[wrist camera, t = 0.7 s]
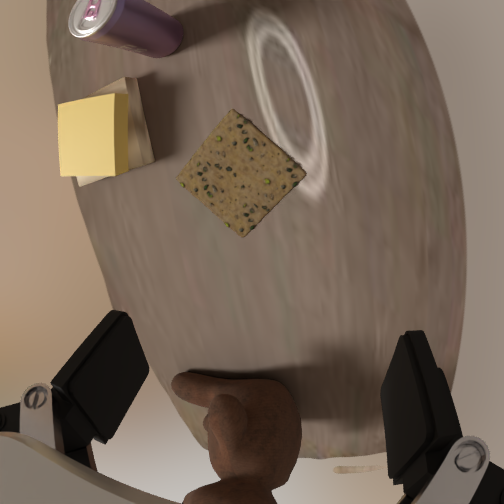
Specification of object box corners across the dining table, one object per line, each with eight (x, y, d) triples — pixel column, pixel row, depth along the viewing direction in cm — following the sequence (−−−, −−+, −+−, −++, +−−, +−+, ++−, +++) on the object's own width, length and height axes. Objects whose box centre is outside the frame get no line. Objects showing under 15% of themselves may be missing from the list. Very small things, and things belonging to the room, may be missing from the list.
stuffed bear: (160, 346, 51) (67, 502, 20) (276, 331, 44) (216, 566, 13) (222, 429, 61) (179, 552, 30) (316, 426, 54) (294, 573, 23)
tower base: (75, 109, 34) (61, 110, 31) (137, 78, 31) (124, 77, 28) (91, 181, 39) (79, 186, 36) (155, 161, 36) (143, 165, 33)
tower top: (72, 103, 31) (58, 104, 28) (128, 93, 29) (114, 93, 27) (74, 171, 35) (60, 176, 32) (128, 171, 34) (115, 176, 31)
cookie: (232, 106, 32) (230, 105, 31) (308, 173, 34) (308, 174, 33) (175, 177, 37) (172, 179, 36) (243, 238, 39) (242, 241, 38)
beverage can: (190, 19, 27) (126, -23, 13) (179, 60, 29) (106, 36, 16) (150, 19, 27) (77, -12, 14) (139, 58, 30) (60, 42, 16)
